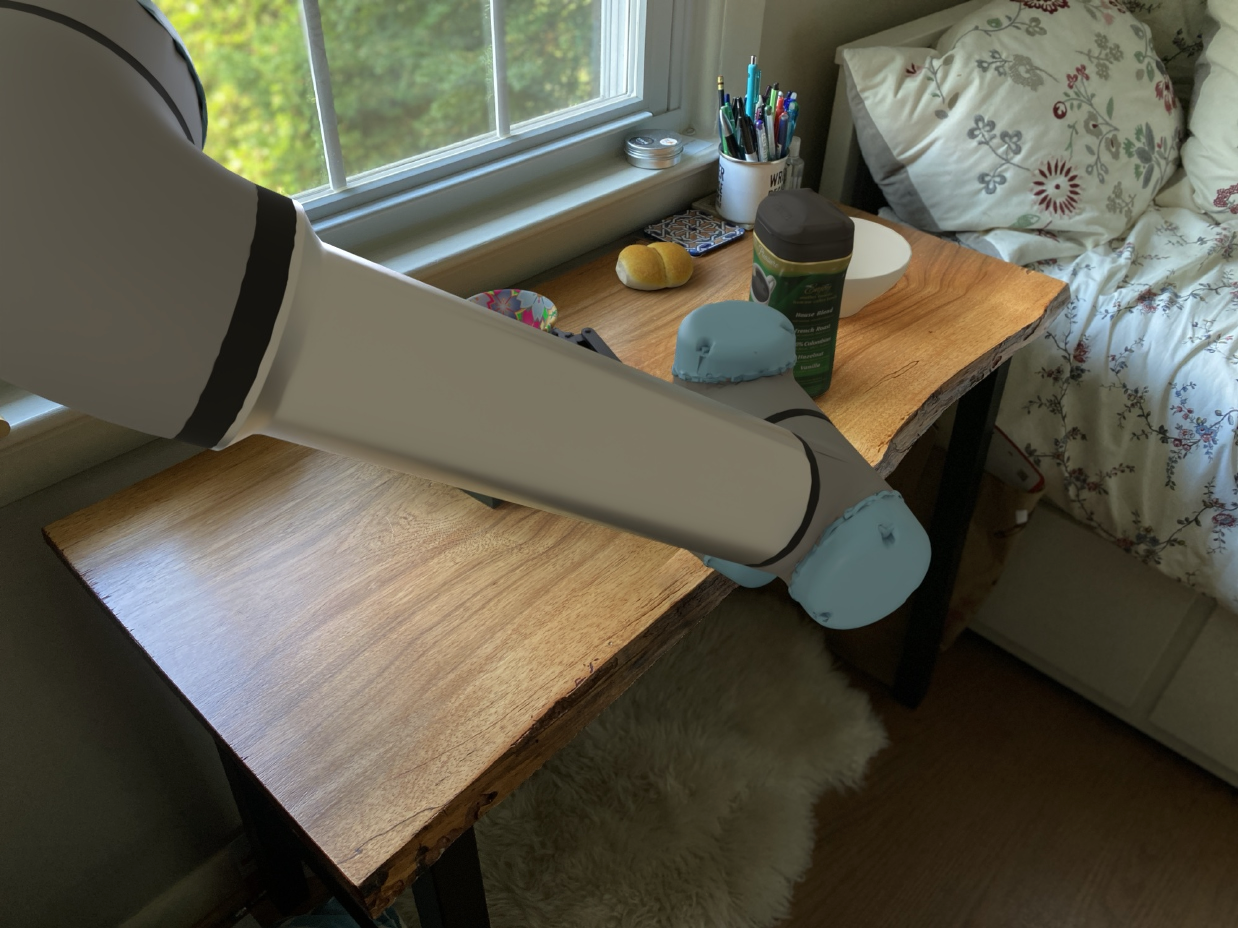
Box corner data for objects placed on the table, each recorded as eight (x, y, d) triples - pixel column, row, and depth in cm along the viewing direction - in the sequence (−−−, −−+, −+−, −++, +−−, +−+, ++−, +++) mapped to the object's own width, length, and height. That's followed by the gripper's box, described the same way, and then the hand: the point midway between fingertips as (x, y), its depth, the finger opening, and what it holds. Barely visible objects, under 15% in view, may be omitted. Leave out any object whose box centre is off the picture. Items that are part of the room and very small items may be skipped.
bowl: (768, 263, 113) (774, 208, 109) (903, 279, 110) (915, 223, 105) (746, 327, 101) (751, 268, 97) (897, 347, 98) (910, 287, 93)
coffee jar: (841, 399, 90) (873, 218, 79) (765, 411, 89) (786, 228, 77) (802, 349, 98) (826, 176, 86) (730, 359, 96) (745, 185, 85)
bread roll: (703, 285, 109) (705, 254, 106) (630, 297, 107) (630, 265, 104) (677, 255, 115) (678, 225, 112) (608, 266, 113) (607, 235, 110)
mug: (543, 377, 92) (537, 281, 86) (577, 428, 86) (573, 328, 79) (424, 405, 89) (408, 306, 82) (450, 460, 82) (434, 358, 76)
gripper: (514, 555, 69) (359, 426, 82) (724, 428, 81) (561, 333, 94) (506, 477, 64) (343, 353, 77) (730, 355, 76) (557, 265, 89)
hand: (463, 342), depth 85 cm, fingers closed on mug, 10 cm apart
